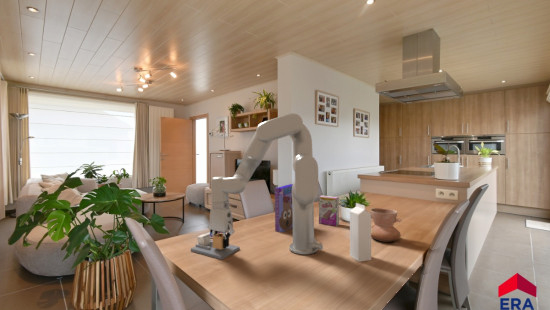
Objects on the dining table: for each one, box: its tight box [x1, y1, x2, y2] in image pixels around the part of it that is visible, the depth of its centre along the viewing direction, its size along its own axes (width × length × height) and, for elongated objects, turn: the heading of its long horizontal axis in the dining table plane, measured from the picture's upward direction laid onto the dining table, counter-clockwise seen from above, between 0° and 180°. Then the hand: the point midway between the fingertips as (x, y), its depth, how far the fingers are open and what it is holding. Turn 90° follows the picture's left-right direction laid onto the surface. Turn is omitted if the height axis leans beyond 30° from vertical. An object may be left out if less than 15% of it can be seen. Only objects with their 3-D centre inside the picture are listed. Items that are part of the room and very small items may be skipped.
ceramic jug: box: [370, 207, 403, 243], centre depth 123 cm, size 18×14×14 cm
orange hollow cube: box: [212, 233, 227, 250], centre depth 109 cm, size 5×5×5 cm
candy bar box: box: [318, 195, 340, 227], centre depth 148 cm, size 11×5×16 cm, turn 58°
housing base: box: [190, 239, 241, 260], centre depth 111 cm, size 18×12×5 cm, turn 60°
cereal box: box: [274, 183, 293, 234], centre depth 142 cm, size 17×5×24 cm, turn 148°
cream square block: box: [197, 233, 211, 246], centre depth 115 cm, size 4×4×5 cm
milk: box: [349, 202, 372, 263], centre depth 101 cm, size 6×6×22 cm
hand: (221, 245), depth 109 cm, fingers closed on orange hollow cube, 4 cm apart
